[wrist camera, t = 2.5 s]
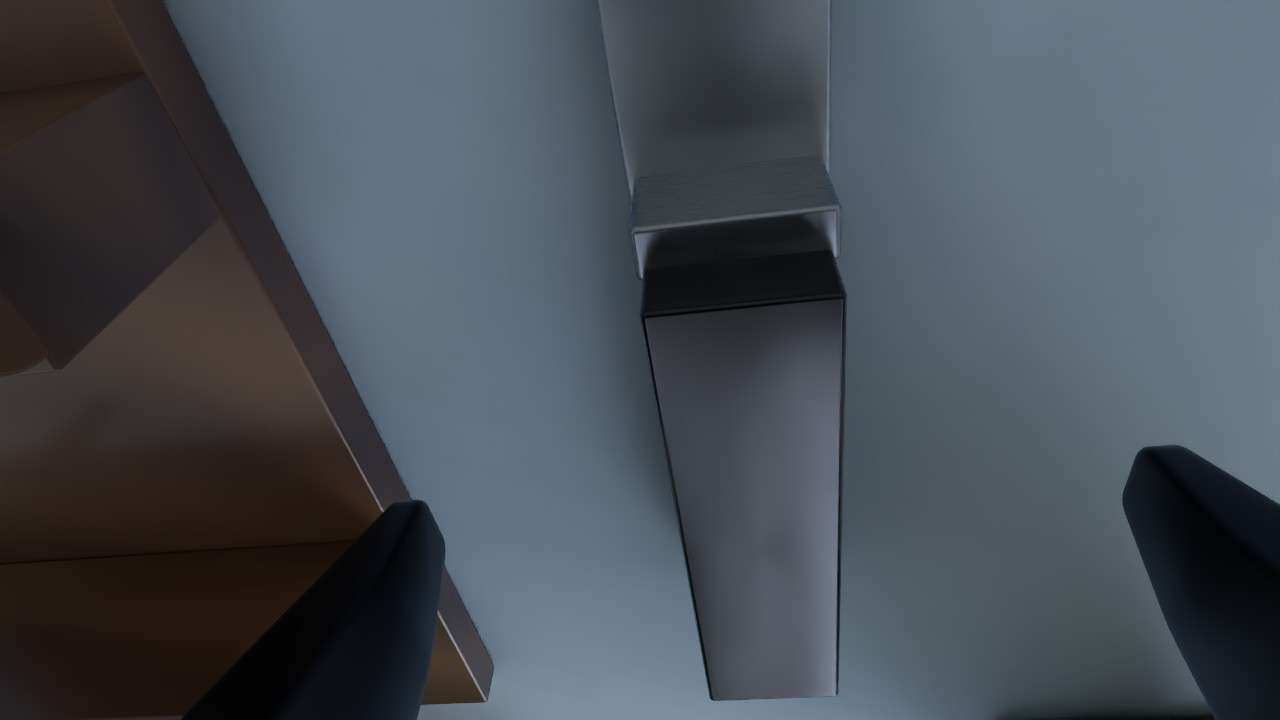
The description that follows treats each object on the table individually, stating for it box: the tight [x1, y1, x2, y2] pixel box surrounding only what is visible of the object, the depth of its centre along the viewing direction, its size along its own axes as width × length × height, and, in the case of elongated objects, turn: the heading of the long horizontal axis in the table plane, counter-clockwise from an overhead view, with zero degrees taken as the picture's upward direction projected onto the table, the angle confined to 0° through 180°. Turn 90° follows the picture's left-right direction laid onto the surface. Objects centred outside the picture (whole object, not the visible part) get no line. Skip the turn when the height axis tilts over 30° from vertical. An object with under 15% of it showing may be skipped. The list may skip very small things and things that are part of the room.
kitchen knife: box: [596, 0, 847, 701], centre depth 9 cm, size 20×3×3 cm, turn 9°
